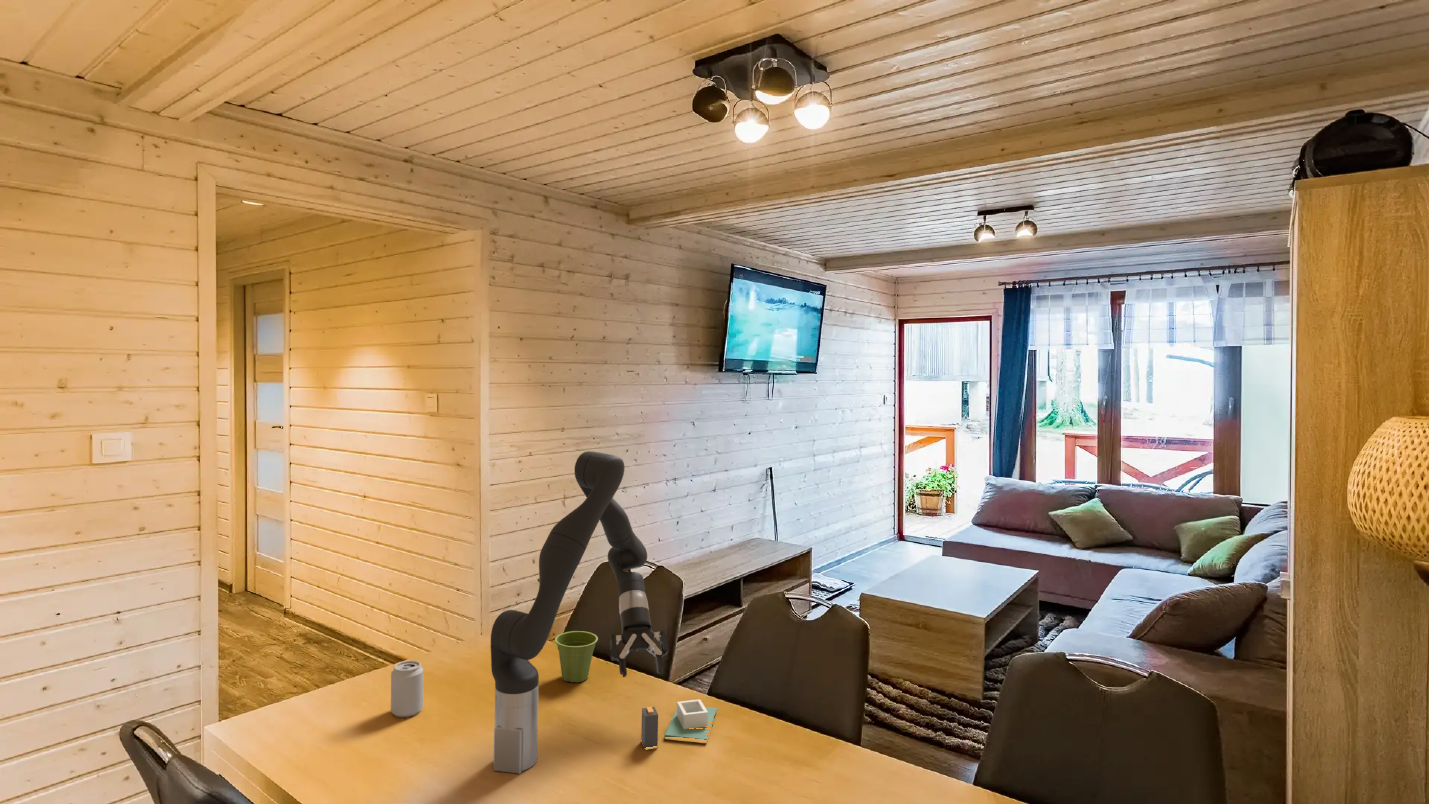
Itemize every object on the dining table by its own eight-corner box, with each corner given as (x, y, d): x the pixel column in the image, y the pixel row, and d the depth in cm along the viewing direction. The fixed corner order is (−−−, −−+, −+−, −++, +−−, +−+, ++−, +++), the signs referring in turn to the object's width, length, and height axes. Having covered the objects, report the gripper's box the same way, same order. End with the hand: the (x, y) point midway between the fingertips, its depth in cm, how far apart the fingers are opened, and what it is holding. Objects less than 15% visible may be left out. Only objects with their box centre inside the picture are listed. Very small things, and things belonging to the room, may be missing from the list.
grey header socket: (707, 726, 177) (708, 712, 176) (683, 729, 175) (684, 715, 175) (699, 712, 183) (700, 699, 183) (676, 715, 182) (677, 701, 181)
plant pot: (574, 691, 196) (574, 650, 196) (545, 678, 204) (545, 639, 203) (605, 676, 206) (606, 637, 205) (577, 665, 213) (578, 627, 212)
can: (428, 706, 186) (429, 659, 185) (413, 720, 178) (414, 672, 178) (400, 703, 186) (401, 657, 186) (384, 717, 179) (384, 669, 178)
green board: (706, 744, 171) (706, 739, 170) (664, 739, 172) (664, 734, 172) (716, 712, 186) (717, 708, 186) (678, 708, 188) (678, 704, 188)
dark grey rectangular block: (657, 748, 168) (658, 712, 168) (644, 750, 167) (645, 714, 167) (653, 739, 172) (654, 704, 172) (641, 741, 171) (642, 706, 171)
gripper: (608, 607, 184) (615, 670, 173) (663, 603, 188) (673, 665, 177) (605, 621, 189) (611, 683, 178) (658, 617, 193) (668, 677, 183)
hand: (642, 674), depth 178 cm, fingers open, 8 cm apart
